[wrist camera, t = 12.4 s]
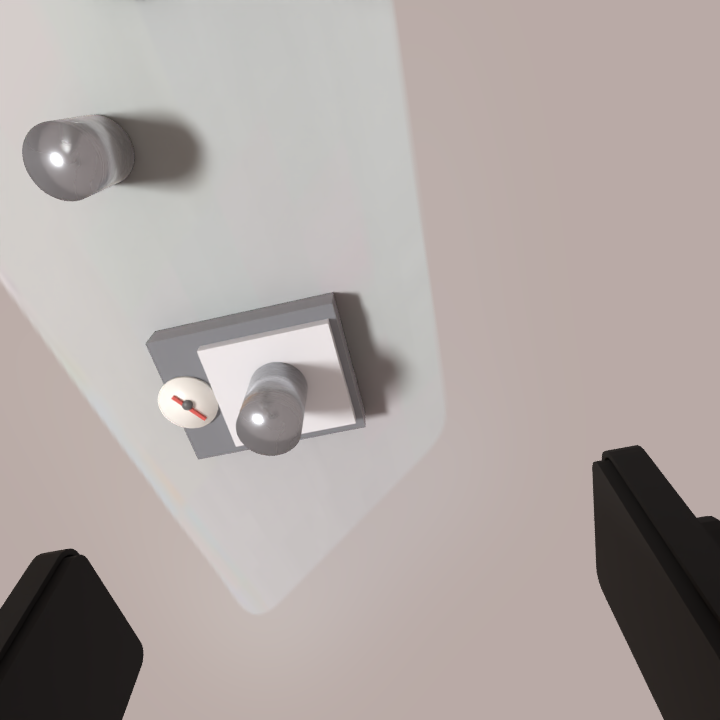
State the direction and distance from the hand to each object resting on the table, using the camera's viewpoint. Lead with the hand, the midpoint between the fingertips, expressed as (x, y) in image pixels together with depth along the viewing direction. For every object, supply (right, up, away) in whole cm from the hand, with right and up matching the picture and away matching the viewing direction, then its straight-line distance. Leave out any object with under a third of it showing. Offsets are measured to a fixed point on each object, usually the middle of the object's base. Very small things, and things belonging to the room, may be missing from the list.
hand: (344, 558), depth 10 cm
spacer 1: (-15, +16, +23) cm, 32 cm away
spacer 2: (-5, +2, +28) cm, 28 cm away
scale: (-7, +3, +30) cm, 31 cm away
